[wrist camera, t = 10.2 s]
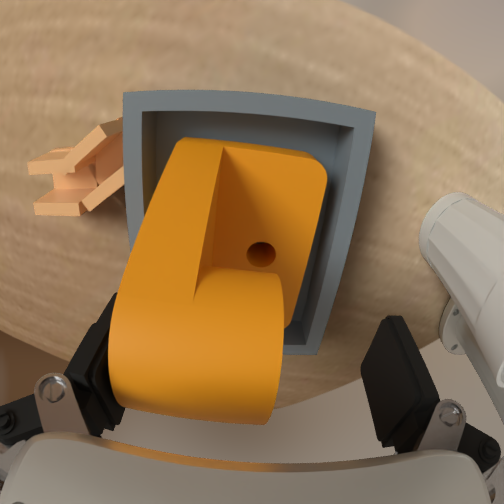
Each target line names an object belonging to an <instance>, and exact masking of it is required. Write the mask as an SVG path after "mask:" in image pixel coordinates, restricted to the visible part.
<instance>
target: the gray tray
mask: <svg viewBox="0 0 504 504" xmlns="http://www.w3.org/2000/svg"><path fill="white" fill-rule="evenodd" d="M375 117H376V112H374V111H370V110H365V109H361V108H356V107H351V106H346V105H341V104H336V103H330V102H325V101H319V100H312V99H306V98H299V97H291V96H283V95H274V94H264V93H253V92H239V91H219V90H157V91H138V92H124V93H123V165H124V185H125V200H126V213H127V224H128V234H129V243H130V251H132V249H133V246H134V243H135V240H136V238H137V235H138V232H139V230H140V227H141V224H142V222H143V219H144V217H145V214H146V212H147V209H148V207H149V204H150V202H151V199H152V197H153V194H154V192H155V190H156V187H157V185H158V183H159V180H160V178H161V176H162V173H163V171H164V169H165V167H166V164H167V162H168V160H169V158H170V156H171V154H172V151H173V149H174V147H175V145H176V143H177V142H178V141H180V140H181V139H182V138H184V137H193V138H205V139H216V140H226V141H235V142H243V143H251V144H259V145H266V146H273V147H280V148H286V149H292V150H298V151H304V152H307V153H309V154H311V155H312V156H313V157H314V158H315V159H316V160H317V161H318V162H319V163H320V164H321V165H322V166H323V167H324V169H325V170H326V173H327V184H326V188H325V193H324V197H323V201H322V206H321V210H320V214H319V218H318V222H317V226H316V231H315V235H314V239H313V243H312V246H311V250H310V254H309V258H308V262H307V266H306V269H305V273H304V277H303V281H302V284H301V288H300V291H299V295H298V299H297V302H296V306H295V309H294V313H293V316H292V320H291V322H290V324H289V325H288V326H287V327H286V328H284V338H283V353H282V354H285V355H317V353H318V350H319V347H320V344H321V341H322V338H323V335H324V332H325V329H326V325H327V322H328V319H329V316H330V313H331V310H332V306H333V303H334V300H335V296H336V293H337V289H338V286H339V283H340V279H341V275H342V272H343V268H344V265H345V261H346V257H347V253H348V249H349V246H350V242H351V238H352V234H353V229H354V225H355V221H356V217H357V212H358V208H359V204H360V199H361V194H362V190H363V185H364V180H365V175H366V170H367V165H368V159H369V154H370V148H371V142H372V136H373V130H374V124H375ZM263 243H266V242H257V243H256V244H263Z"/></svg>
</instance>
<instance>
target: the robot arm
mask: <svg viewBox="0 0 504 504" xmlns="http://www.w3.org/2000/svg"><path fill="white" fill-rule="evenodd" d="M116 297H117V292H116V293H115V294H114V295H113V296H112V298H111V300H110V301H109V303H108V304H107V306H106V308H105V309H104V311H103V313H102V314H101V316H100V317H99V319H98V321H97V322H96V323H94V324H92V325H91V327H90V328H89V330H88V332H87V333H86V335H85V337H84V338H83V340H82V342H81V344H80V345H79V347H78V349H77V351H76V352H75V354H74V356H73V358H72V360H71V361H70V363H69V365H68V367H67V369H66V370H65V372H64V374H63V375H62V374H59V373H50V374H47V375H45V376H43V377H42V378H40V380H39V381H38V382H37V383H36V386H35V389H34V394H32V395H29V396H26V397H24V398H21V399H19V400H16V401H13V402H11V403H8V404H5V405H3V406H0V504H504V457H502V458H501V457H500V455H501V450H500V447H499V444H498V443H497V441H496V440H495V439H493V438H492V437H490V436H488V435H487V434H485V433H483V432H482V431H480V430H478V429H476V428H475V427H473V426H471V425H469V424H468V423H466V413H465V411H464V409H463V407H462V406H461V405H460V404H459V403H457V402H456V401H454V400H451V399H445V400H442V401H440V399H439V395H438V392H437V390H436V387H435V385H434V383H433V380H432V378H431V376H430V374H429V371H428V369H427V367H426V364H425V362H424V360H423V358H422V356H421V354H420V352H419V349H418V347H417V345H416V343H415V341H414V339H413V337H412V335H411V333H410V331H409V329H408V327H407V325H406V323H405V321H404V319H403V317H402V316H387V317H386V318H385V319H383V320H382V321H381V323H380V325H379V328H378V330H377V332H376V334H375V337H374V339H373V341H372V343H371V345H370V348H369V350H368V352H367V354H366V356H365V358H364V360H363V362H362V364H361V376H362V379H363V383H364V387H365V391H366V394H367V398H368V402H369V406H370V410H371V414H372V418H373V422H374V426H375V431H376V435H377V439H378V440H379V441H381V443H382V447H383V448H385V447H391V446H394V447H395V453H394V455H390V456H383V457H376V458H367V459H359V460H350V461H338V462H323V463H300V464H299V463H297V464H296V463H295V464H294V463H293V464H279V463H250V462H234V461H223V460H214V459H205V458H197V457H190V456H184V455H177V454H172V453H166V452H161V451H156V450H151V449H146V448H141V447H137V446H132V445H128V444H124V443H120V442H116V441H112V440H108V439H103V438H102V437H101V435H100V434H102V433H103V430H104V428H105V429H108V430H111V431H113V430H114V428H115V425H119V424H120V422H121V419H122V416H123V413H124V411H125V408H126V407H122V406H121V405H120V404H119V403H118V402H117V400H116V398H115V396H114V394H113V390H112V387H111V382H110V376H109V366H108V344H109V332H110V324H111V318H112V313H113V308H114V304H115V300H116ZM439 336H440V339H441V342H442V344H443V345H444V347H445V349H446V350H447V351H448V352H450V353H453V354H459V355H462V354H467V356H468V358H469V360H470V361H471V363H472V365H473V366H474V368H475V370H476V372H477V373H478V375H479V377H480V379H481V381H482V383H483V384H484V386H485V388H486V390H487V392H488V394H489V396H490V398H491V400H492V402H493V404H494V405H495V407H496V410H497V412H498V414H499V416H500V418H501V420H502V422H503V424H504V388H501V387H499V386H498V385H497V383H496V381H495V379H494V377H493V374H492V372H491V370H490V368H489V366H488V363H487V361H486V359H485V357H484V355H483V353H482V351H481V349H480V347H479V345H478V343H477V341H476V339H475V337H474V335H473V334H472V332H471V330H470V328H469V326H468V325H467V323H466V321H465V319H464V318H463V316H462V314H461V312H460V311H459V309H458V307H457V306H456V304H455V302H454V301H453V299H452V298H450V300H449V302H448V304H447V306H446V307H445V310H444V312H443V315H442V318H441V322H440V326H439Z"/></svg>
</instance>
